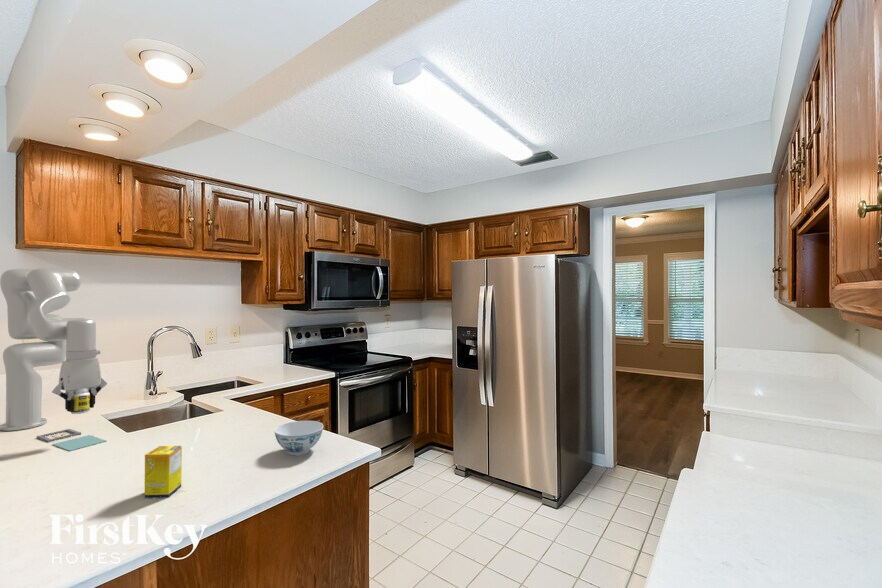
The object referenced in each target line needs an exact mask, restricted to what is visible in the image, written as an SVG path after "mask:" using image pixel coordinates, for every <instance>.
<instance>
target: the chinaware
mask: <svg viewBox="0 0 882 588" xmlns="http://www.w3.org/2000/svg"><path fill="white" fill-rule="evenodd" d="M323 430H324V424H323V423H322V422H320V421H315V420H295V421H290V422H286V423H283V424H280V425H279V426H277V427H275V428H274V437H275V439H276V441H277V444H279V446H280V447H281V448H282V449H284V450H286V452H287V453H288V455H291V456H301V455H306V454H309V453H310V452H311V449H312V448H314V446H315V445H316V444H317V443H318V442H319V441H320V438H321V437H322V434H323Z"/></svg>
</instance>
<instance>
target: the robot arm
mask: <svg viewBox="0 0 882 588" xmlns="http://www.w3.org/2000/svg"><path fill="white" fill-rule="evenodd" d="M81 281H82V280H81V277H80V275H79V273H78V272H77V271H75V270H73V269H70V268H69V269H66V268H52V267H51V268H50V267H44V268H43V267H42V268H41V267H40V268H34V269H33V268H12V269H7V270H5V271H4V272H2V274H1V276H0V290H1V292H2V295H3V297H4V299H5V301H6V306H7V308H6V309H7V311H6V312H7V333H8V335H9V337H10V338H11V339H13V340H21V341H22V340H36V339H38V340H41V341H39V342H38V341H37V342H36V341H35V342H32V341H31V342H24V343H23V342H22V343H20V342H19V343H15V344H12V345H9V346H7V347H6V348H4V350H3V353H2V360H3V365H4V370H5V423H3V424H1V425H0V431H3V432H4V431H5V432H12V431H22V430H27V429H33V428H36V427H39V426H43V425H45V424H47V422H48V419H47V418H44V417H42V401H43V399H42V397H43V396H42V395H43V392H42V391H43V389H42V387H43V381H42V380H43V379H42V376H41V375H40V373H38V372H37V371H36V370H35V369H34V368H38V367H46V366H53V365H59V364H61V366H60V369H59V370H60V371H59V377H58V384H56V386H55V387H54V388H53V390H52V391H51V393H52V394H53V395H57V396H59V397H60V398H62V399H64V403H65V405H64V406H65V407H64V408H65V410H66V412H69V413H71V412H73V411H74V400H72V397H73V394H74V391H75V390H79V389H83V388H89V391H88V392H89V393H90V409H92V408H94V407H95V404H96V396H97V395H98V393H99V392H100V391H101V390H102V389H103V388H105V387H106V386H107V385H108V382H107V381H105V380H104V379H103V378H102V375H101V367H100V362H99V359H98V357H97V355H101V350H98V349H96V347H97V346H96V345H97V343H96V340H97V332H96V331H97V328H96V327H97V326H96V324H97V322H96V321H95V320H94V319H90V318H84V317H62V316H61V315H59V314H55V313H52V312H55V311H58V310H61V309H63V308H65V307H67V306H68V305H69V303H70V301H71V296H70V294H69V293H71V292H75V291H77V290H78V289H79V288H80V287H81V284H82V282H81ZM30 292H32V293H33V294H31V293H30ZM49 313H50V314H49ZM63 391H65V392H63Z"/></svg>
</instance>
